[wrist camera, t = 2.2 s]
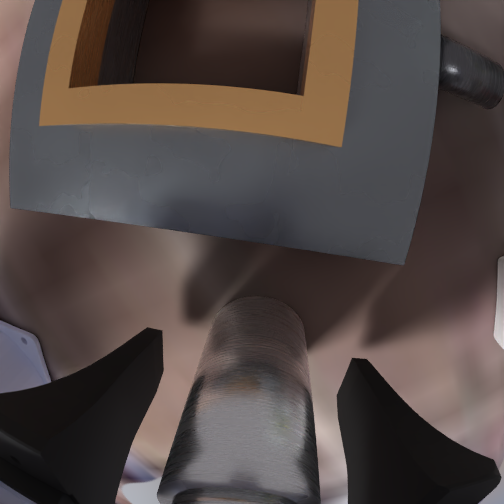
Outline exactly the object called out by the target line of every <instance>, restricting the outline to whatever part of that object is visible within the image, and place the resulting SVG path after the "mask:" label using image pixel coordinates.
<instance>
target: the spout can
mask: <svg viewBox="0 0 504 504" xmlns="http://www.w3.org/2000/svg"><path fill="white" fill-rule="evenodd" d="M157 498H158V501H159V502H160V504H321V501H320V485H319V471H318V458H317V446H316V434H315V423H314V413H313V402H312V393H311V383H310V374H309V365H308V356H307V348H306V339H305V332H304V327H303V323H302V321H301V319H300V318H299V316H298V315H297V313H296V312H295V311H294V310H293V309H292V308H290V307H289V306H288V305H286V304H285V303H283V302H281V301H279V300H276V299H273V298H270V297H265V296H248V297H243V298H239V299H236V300H234V301H232V302H230V303H228V304H227V305H225V306H224V307H223V308H222V309H221V310H220V311H219V312H218V313H217V315H216V316H215V318H214V320H213V323H212V326H211V329H210V332H209V334H208V337H207V340H206V343H205V346H204V349H203V352H202V355H201V358H200V361H199V364H198V367H197V371H196V374H195V377H194V380H193V383H192V386H191V389H190V392H189V395H188V398H187V401H186V404H185V407H184V410H183V413H182V416H181V419H180V422H179V426H178V429H177V432H176V435H175V438H174V441H173V444H172V447H171V451H170V454H169V457H168V460H167V463H166V466H165V469H164V473H163V476H162V479H161V482H160V485H159V489H158V492H157Z"/></svg>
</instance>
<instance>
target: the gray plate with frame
mask: <svg viewBox="0 0 504 504" xmlns="http://www.w3.org/2000/svg"><path fill="white" fill-rule="evenodd" d="M148 3H149V0H35V2H34V6H33V9H32V12H31V16H30V19H29V23H28V26H27V30H26V34H25V38H24V43H23V47H22V52H21V57H20V62H19V67H18V73H17V79H16V85H15V92H14V100H13V109H12V120H11V134H10V159H9V181H10V207H11V208H15V209H22V210H30V211H38V212H45V213H53V214H60V215H68V216H75V217H82V218H90V219H97V220H104V221H112V222H119V223H126V224H133V225H140V226H147V227H154V228H161V229H168V230H175V231H182V232H189V233H196V234H203V235H210V236H216V237H223V238H230V239H237V240H243V241H250V242H257V243H263V244H270V245H277V246H283V247H290V248H296V249H303V250H309V251H316V252H322V253H329V254H335V255H341V256H348V257H354V258H361V259H367V260H373V261H379V262H386V263H392V264H398V265H404V264H405V260H406V257H407V253H408V250H409V246H410V243H411V239H412V235H413V231H414V227H415V223H416V219H417V215H418V211H419V207H420V202H421V198H422V193H423V188H424V183H425V178H426V173H427V168H428V162H429V157H430V150H431V144H432V137H433V130H434V123H435V115H436V106H437V95H438V88H439V89H442V90H444V91H447V92H449V93H452V94H454V95H456V96H459V97H461V98H463V99H466V100H468V101H470V102H472V103H474V104H476V105H479V106H481V107H483V108H485V109H491V108H494V107H495V106H496V105H497V104H498V103H499V102H500V100H501V99H502V96H503V94H504V71H503V69H502V67H501V66H500V64H498V63H497V62H495V61H493V60H491V59H490V58H488V57H486V56H484V55H482V54H481V53H479V52H477V51H475V50H473V49H471V48H469V47H467V46H465V45H463V44H461V43H459V42H457V41H454V40H452V39H450V38H448V37H446V36H443V35H441V22H440V0H308V9H307V17H306V25H305V33H304V40H303V48H302V56H301V63H300V71H299V78H298V85H297V92H296V95H294V94H288V93H281V92H274V91H267V90H258V89H250V88H240V87H229V86H216V85H199V84H167V83H148V84H133V78H134V72H135V66H136V60H137V54H138V49H139V44H140V39H141V34H142V29H143V25H144V20H145V16H146V11H147V7H148Z"/></svg>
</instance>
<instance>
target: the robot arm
mask: <svg viewBox="0 0 504 504" xmlns="http://www.w3.org/2000/svg"><path fill="white" fill-rule="evenodd" d="M163 371H164V367H163V338H162V330H157V329H152V328H148V327H147V328H146V329H144V330H143V331H141V332H140V333H139V334H137V335H136V336H134V337H133V338H132V339H130V340H129V341H127V342H126V343H125V344H123V345H122V346H120V347H119V348H117V349H116V350H114V351H113V352H111V353H110V354H108V355H107V356H105V357H103V358H102V359H100V360H98V361H97V362H95V363H93V364H92V365H90V366H88V367H86V368H84V369H82V370H80V371H78V372H76V373H73V374H71V375H69V376H67V377H64V378H61V379H58V380H56V381H53V382H51V379H50V376H49V373H48V370H47V367H46V364H45V361H44V358H43V354H42V351H41V347H40V344H39V341H38V339H37V337H36V336H35V335H33V334H32V333H29V332H27V331H24V330H22V329H19V328H17V327H15V326H12V325H10V324H8V323H5V322H3V321H1V320H0V504H115V499H116V495H117V491H118V487H119V484H120V480H121V476H122V473H123V470H124V466H125V463H126V460H127V457H128V454H129V451H130V448H131V445H132V442H133V440H134V437H135V435H136V433H137V431H138V429H139V427H140V425H141V423H142V420H143V418H144V416H145V414H146V412H147V410H148V408H149V406H150V404H151V402H152V400H153V398H154V396H155V394H156V392H157V389H158V386H159V383H160V380H161V377H162V374H163ZM337 409H338V420H339V426H340V431H341V437H342V442H343V447H344V453H345V458H346V464H347V474H348V504H478V503H479V502H480V501H481V500H482V499H484V498H485V497H486V496H487V495H488V494H489V493H491V492H492V491H493V490H494V489H495V488H496V487H497V485H498V484H499V483H500V480H501V476H500V473H499V470H498V468H497V466H496V464H495V461H494V460H493V459H490V458H488V457H485V456H483V455H481V454H478V453H476V452H473V451H471V450H469V449H467V448H465V447H464V446H462V445H460V444H458V443H456V442H455V441H453V440H451V439H450V438H448V437H447V436H445V435H444V434H442V433H441V432H439V431H438V430H437V429H435V428H434V427H432V426H431V425H430V424H429V423H428V422H426V421H425V420H424V419H423V418H422V417H420V416H419V415H418V414H417V413H416V412H415V411H414V410H413V409H412V408H411V407H410V406H409V405H408V404H407V403H406V402H405V401H404V400H403V399H402V398H401V397H400V396H399V395H398V394H397V393H396V392H395V391H394V390H393V388H392V387H391V386H390V385H389V384H388V383H387V382H386V381H385V379H384V378H383V377H382V376H381V375H380V374H379V372H378V371H377V370H376V369H375V368H374V367H373V365H372V364H371V363H370V362H369V361H368V360H367V359H359V358H352V359H351V362H350V365H349V367H348V370H347V372H346V375H345V377H344V379H343V382H342V384H341V387H340V389H339V391H338V394H337Z"/></svg>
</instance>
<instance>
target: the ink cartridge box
mask: <svg viewBox="0 0 504 504" xmlns="http://www.w3.org/2000/svg"><path fill="white" fill-rule="evenodd" d="M494 338H495V339H496V341H497V342H498V343H499V344H500V346H501V347H502V348H503V349H504V256H502V257H500V258H499V259H498V278H497V303H496V315H495V326H494Z"/></svg>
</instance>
